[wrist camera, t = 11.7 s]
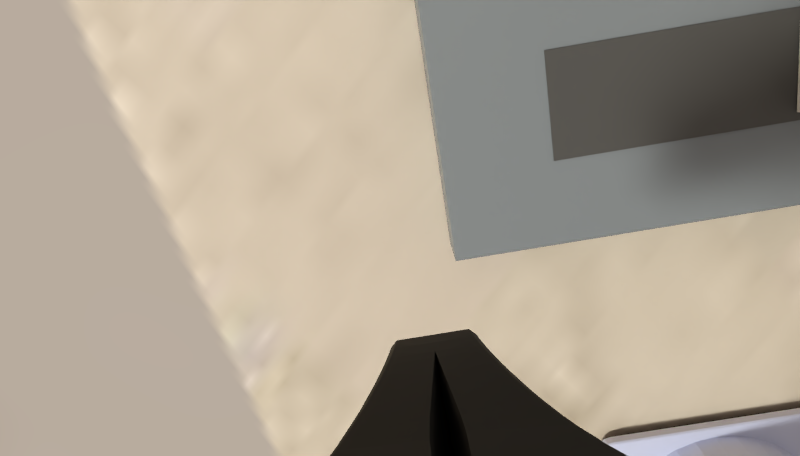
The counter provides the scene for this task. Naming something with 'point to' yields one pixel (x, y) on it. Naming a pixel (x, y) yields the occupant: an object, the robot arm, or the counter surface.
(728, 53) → the switch board
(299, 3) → the counter surface
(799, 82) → the beige small block
